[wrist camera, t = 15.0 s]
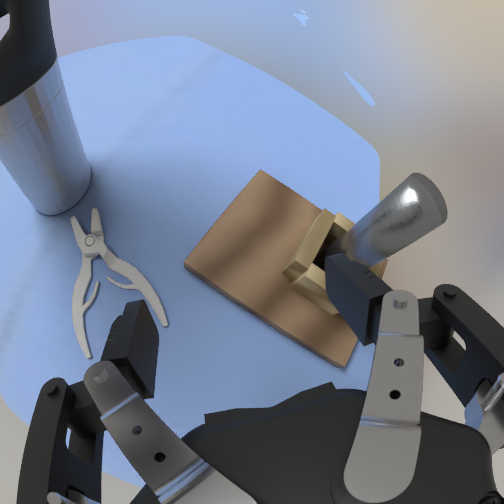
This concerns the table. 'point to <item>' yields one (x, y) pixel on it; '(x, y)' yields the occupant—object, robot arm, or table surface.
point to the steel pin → (391, 223)
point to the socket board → (278, 264)
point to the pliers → (91, 249)
